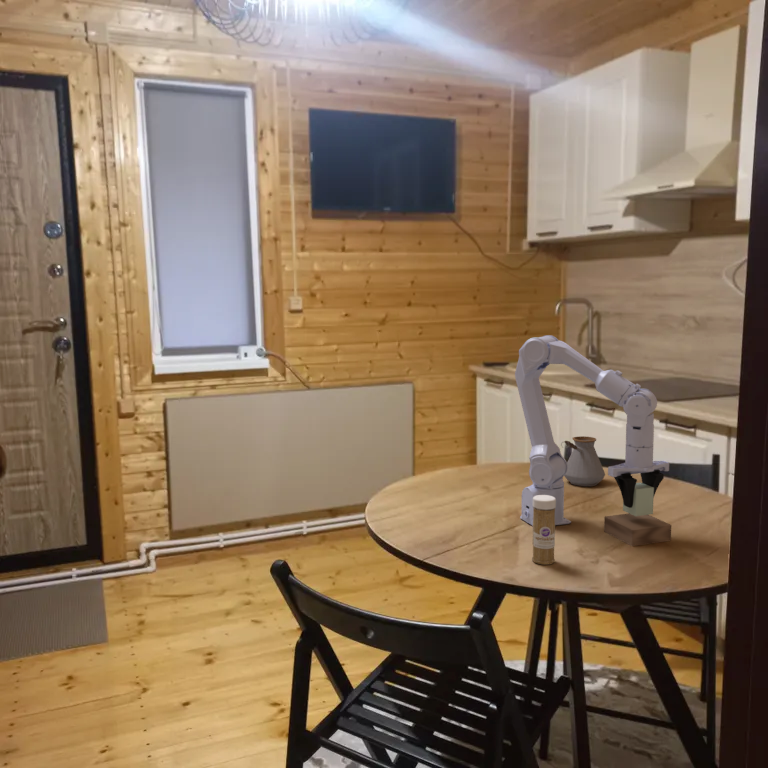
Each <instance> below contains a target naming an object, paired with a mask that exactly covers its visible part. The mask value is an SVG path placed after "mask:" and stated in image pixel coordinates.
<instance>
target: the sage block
mask: <svg viewBox="0 0 768 768" xmlns="http://www.w3.org/2000/svg"><path fill="white" fill-rule="evenodd" d="M654 498H655V495H654V487H651V486H649V485H646V484H643V483H642V481H641V482H640V481H639V482H636V485H635V489H634V496H633V506H632V507H631V508H629V507H627V506H625V505H624V502H623V501H622V511H624V512H625V513H626V514H628V513H629V514H632V515H634V516H642V515H650V516H651V515H653V514H654Z"/></svg>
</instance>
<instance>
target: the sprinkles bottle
mask: <svg viewBox="0 0 768 768" xmlns="http://www.w3.org/2000/svg"><path fill="white" fill-rule="evenodd" d="M555 507H556V499H555V497H553V496H549V495H536V496H534V497H533V509H534V510H533V526H532V559H531V560H532V561H533V562H534V563H535V564H538V565H544V566H546V565H552V564H554V563H555V561H556V559H555V544H556V541H555V539H556V538H555V537H556V525H555Z"/></svg>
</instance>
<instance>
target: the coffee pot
mask: <svg viewBox="0 0 768 768" xmlns="http://www.w3.org/2000/svg"><path fill="white" fill-rule="evenodd" d="M572 440H573V442H574V443H573V442H571V441H569V440H565V441H562V442H561V443H560V446H561V447H563V445H562V444H563V443H565V445H566V446H567V447H566V449H568V448H571V449H572V452H571V454H570V456H569V458H568V460H567V461H566V462H567V465H568V469H567V472H566V474H565V475H564V476H563V477H564V478H566V480H567V481H569V483H570V484H571V485H573V486H579V487H593V486H597V485H598V484H599V483H600V482H602V481H603V480H604V478H605V476H606V473H605V470H604V469H603V465H602V463H601V460H600V458H599V456H598V453H597V450H596V448H595V442H597V438H596V437H593V436H573V437H572Z"/></svg>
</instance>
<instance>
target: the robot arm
mask: <svg viewBox="0 0 768 768" xmlns="http://www.w3.org/2000/svg"><path fill="white" fill-rule="evenodd" d="M518 355H519V356H518V359H517V360H518V361H517V364H516V368H515V372H514V378H515V382H516V386H517V389H518V390H517V391H518V395H519V398H520V402H521V407H522V411H523V416H524V419H525V424H526V428H527V432H528V437H529V440H530V446H531V450H530V453H529V457H528V458H529V462H530V463H529V464H530V465H529V471H528V474H529V478H530V480H531V482H532V484H531V485H529V486H526V487H524V488H523V489H522V491H521V515H520V516H519V519H521V520H523V521H524V522H526V523H527V524H529V525H531V526H532V527H533V510H534V509H533V497H534V496H536V495H549V496H553V497H555V499H556V507H555V526H560V525H568V524H571V523H572V521H571V520H569V519H568V518H566V517H564V511H565V510H564V508H565V507H564V505H565V482H564V479H563V478H564V477H565V476H564V475H565V474H566V472H567V469H568V465H567V462H568V461H567V460H566V459H565V457H564V455H562V453H561V448H560V446H558V445H557V443H556V442H555V440H554V436H553V432H552V428H551V424H550V419H549V414H548V411H547V408H546V403H545V398H544V394H543V390H542V386H541V382H540V376H541V375H542V374H543V372H544V371H545V369H546V368H547V367H548V366H549V365H565V366H567V367H569V368H570V369H572V370H573V371H575V372H576V373H578V374H580V375H581V376H583V377H584V378H586V379H589V381H591V382H593V383H594V385H595V388H596V391H597V392H599V394H601V395H603V396H604V397H605V398H607V399H608V400H610V401H612V402H613V403H614V404H616V405H617V406H619V407H622V408H623V411H624V413H625V415H626V427H625V460H624V461H625V462H623V463H619V464H615V465H610V466H608V467H607V475H608V476H609V477H612V478H614V480H615V481H616V483H617V485H618V488H619V491H620V493H621V497H622V503H623V502H624V505H625V506H627V507H629V508H631V507H632V506H633V496H634V489H635V485H636V483H638V479H636V478H634V477H633V475H635V474H638V475H639V474H640V479H641V483H643V484H646V485H649V486H651V487H654V496H655V495H656V493H657V492H656V491H657V490H658V488H659V485H660V484H661V483H662V481H663V480H664V478H665V477H664V473H661V472H662V471H663V472H669V471H670V462H669V461H665V460H655V461H654V437H655V436H654V435H655V434H654V432H655V425H654V421H655V420H654V419H655V417H654V415H655V413H654V412H655V410H656V408H657V406H658V400H657V397H656V395H655V394H654V393H653V391H651V390H650V389H648V388H641V384H639V383H636V384H635V383H633V382H632V381H630V380H629V379H628V378H626V377H624V376H623V372H622V371H620V370H617V369H616V370H614V369H607V370H603V369H602V368H600V367H599V366H598V365H596V364H595V363H594V362H593V361H591V360H590V359H588V358H587V357H585V356H584V355H582V354H581V353H580V352H578V350H576V349H574V348H573V347H571V346H570V345H569V344H568V343H566V342H565V341H563V340H559V339H558V338H557V337H555V336H554V335H552V334H551V335H549V334H548V335H543V336H539V337H531V338H529V339H527V340H526V341H525V342H524V343H523V344H522V345H521V347H520V348H519V350H518Z"/></svg>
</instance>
